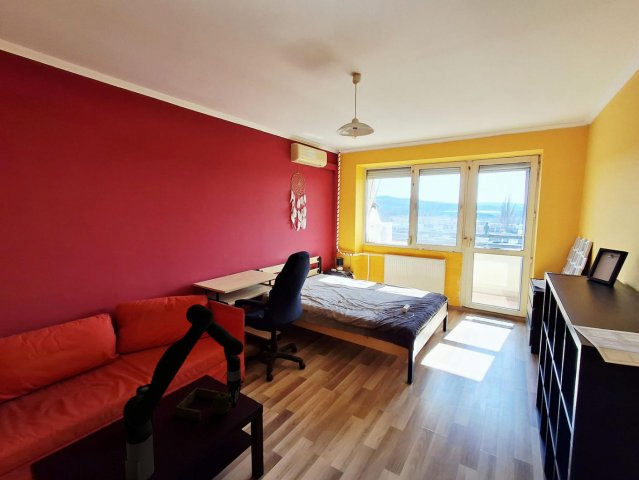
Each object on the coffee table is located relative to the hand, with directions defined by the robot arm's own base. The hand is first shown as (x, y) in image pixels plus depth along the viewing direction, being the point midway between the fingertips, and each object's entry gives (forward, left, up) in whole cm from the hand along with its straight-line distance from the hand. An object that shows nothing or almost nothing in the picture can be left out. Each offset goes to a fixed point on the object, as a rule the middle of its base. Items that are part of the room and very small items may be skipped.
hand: (234, 406), depth 159 cm
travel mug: (-18, +39, -5) cm, 44 cm away
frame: (0, +21, -4) cm, 22 cm away
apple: (0, +7, -5) cm, 9 cm away
